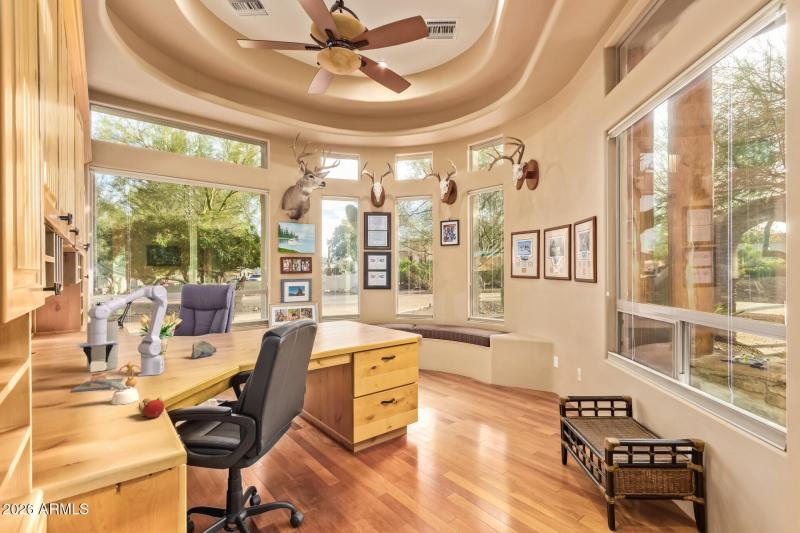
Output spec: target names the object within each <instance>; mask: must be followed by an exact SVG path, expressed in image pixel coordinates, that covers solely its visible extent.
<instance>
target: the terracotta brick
mask: <svg viewBox="0 0 800 533" xmlns="http://www.w3.org/2000/svg"><path fill="white" fill-rule="evenodd" d="M98 378H105V379H107V371H106V372H105V371H104V372H96V373H91V375H90V380H93V379H98ZM90 380H89V381H90ZM97 385H100V384H94V383H91V384H90V386H97Z"/></svg>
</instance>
